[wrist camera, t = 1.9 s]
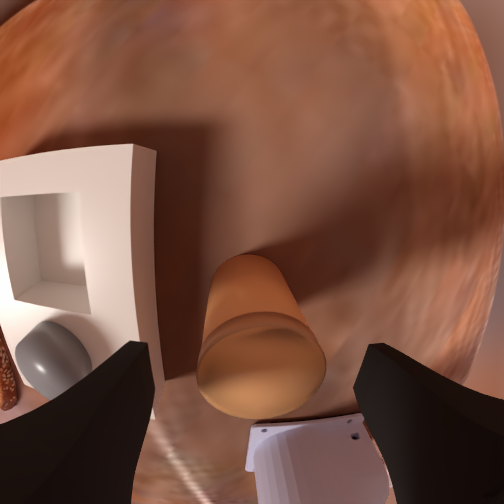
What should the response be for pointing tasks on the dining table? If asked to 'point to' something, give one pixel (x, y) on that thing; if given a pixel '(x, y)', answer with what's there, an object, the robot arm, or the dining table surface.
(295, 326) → the orange tapered cylinder
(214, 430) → the dining table surface
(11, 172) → the cream block with recess
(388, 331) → the dining table surface
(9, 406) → the bread slice
